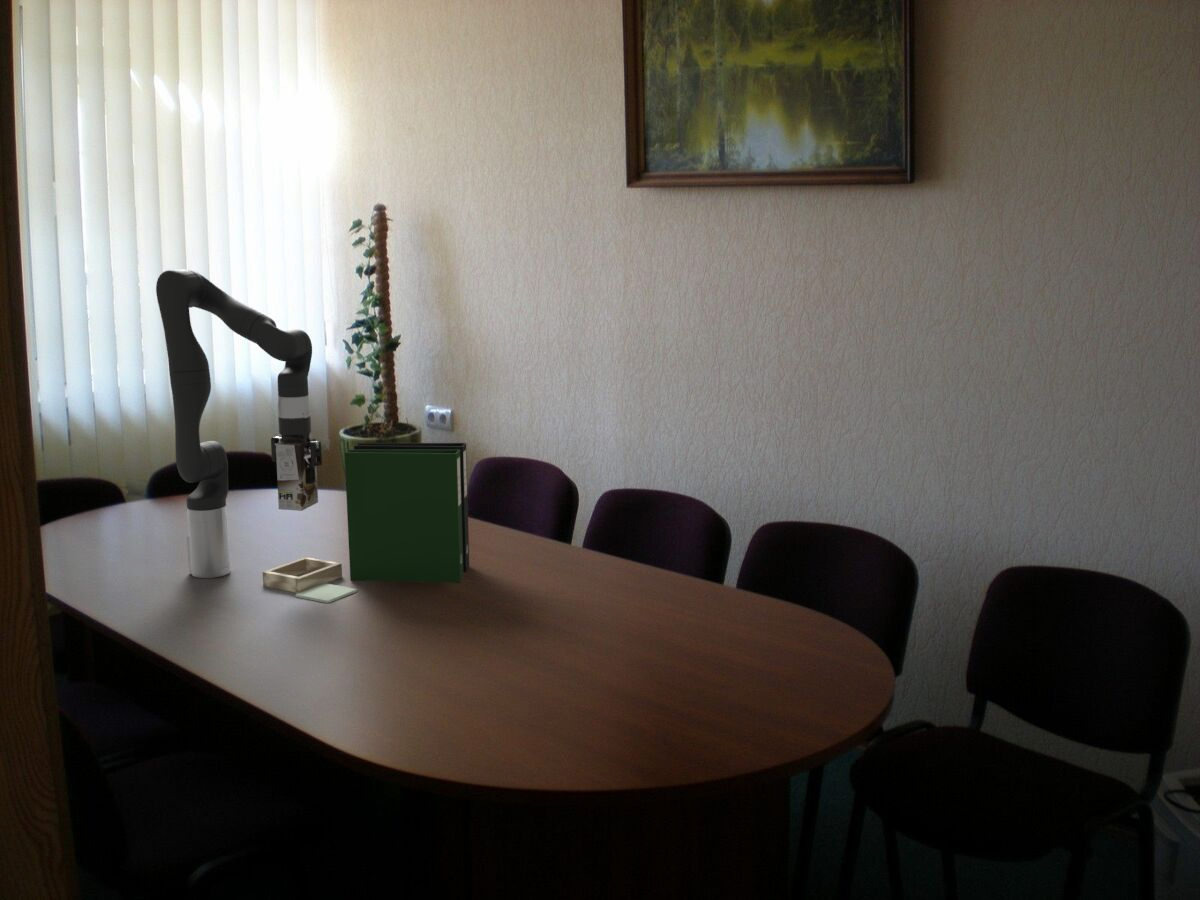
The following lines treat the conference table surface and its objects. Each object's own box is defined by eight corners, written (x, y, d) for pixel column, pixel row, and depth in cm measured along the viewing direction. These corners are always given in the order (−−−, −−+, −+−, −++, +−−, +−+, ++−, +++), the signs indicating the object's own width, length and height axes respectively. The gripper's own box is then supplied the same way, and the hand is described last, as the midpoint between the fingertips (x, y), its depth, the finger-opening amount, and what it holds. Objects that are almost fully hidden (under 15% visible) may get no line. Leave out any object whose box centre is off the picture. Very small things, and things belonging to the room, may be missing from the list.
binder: (349, 581, 289) (343, 453, 283) (364, 564, 303) (359, 441, 297) (460, 582, 287) (456, 453, 281) (469, 565, 302) (466, 442, 296)
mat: (295, 596, 277) (295, 594, 277) (324, 585, 286) (324, 583, 286) (328, 603, 272) (327, 600, 272) (356, 591, 281) (356, 589, 281)
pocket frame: (263, 585, 286) (262, 572, 285) (306, 570, 298) (305, 557, 298) (299, 593, 280) (299, 578, 279) (342, 576, 293) (341, 563, 292)
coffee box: (302, 511, 281) (299, 444, 277) (277, 510, 282) (274, 443, 279) (319, 502, 289) (316, 437, 286) (294, 501, 291) (291, 436, 287)
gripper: (260, 414, 281) (264, 481, 285) (305, 419, 275) (309, 487, 278) (283, 409, 288) (286, 475, 291) (328, 414, 281) (331, 481, 284)
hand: (297, 481), depth 284 cm, fingers closed on coffee box, 7 cm apart
